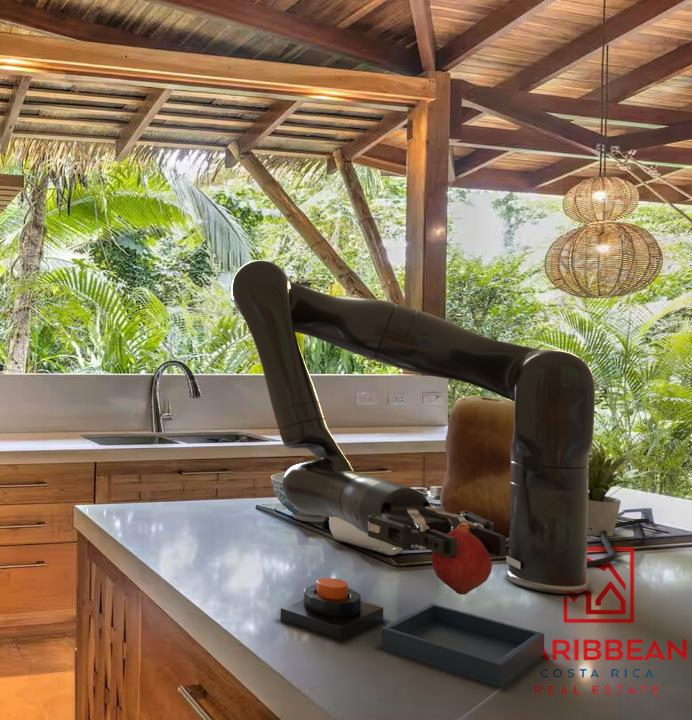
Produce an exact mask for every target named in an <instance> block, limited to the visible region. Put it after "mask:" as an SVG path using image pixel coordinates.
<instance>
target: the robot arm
mask: <svg viewBox="0 0 692 720" xmlns="http://www.w3.org/2000/svg"><path fill="white" fill-rule="evenodd" d="M230 292H231V299H232V301H233V304H234V306H235V307H236V309H237V311H238V313H239V314H240V315H241V316H242V317H243V319H244V321H245V324H246V326H247V327H248V329H249V332H250V334H251V338H252V339H253V342H254V346H255V348H256V351H257V354H258V358H259V361H260V363H261V364H260V365H261V367H262V371H263V376H264V380H265V384H266V388H267V393H268V396H269V397H268V398H269V401H270V404H271V408H272V412H273V415H274V419H275V421H276V422H275V423H276V426H277V428H278V432H279V436H280V439H281V441H282V444H283V445H284V446H285V447H286V448H288V449H305V450H308V451H310V452H311V453H312V454H313V455H314V457H315V458H316V460H310V461H306V462H302V463H297V464H295V465H292V466H290V467H289V468H288V469H287V470H286V471H285V472H286V473H285V475H284V477H283V483H282V485H283V491H284V494H285V496H286V498H287V499H288V501H289V502H290V503H291V504H292V505H293V506H294V507H295V508H297V509H298V510H300V511H302V512H305V513H308V514H313V515H320V516H326V517H337V518H340V519H342V520H344V521H346V522H348V523H350V524H352V525H354V526H355V527H356V528H358V529H359V530H361V531H363V532H365V533H367V534H368V536H369V537H371V538H374V539H377V540H380V541H383V542H386V543H388V544H390V545H392V546H395V547H400V548H403V549H402V550H409V549H410V550H411V549H412V548H416V549H418V550H420V551H431V552H432V551H433V552H435V553H438V554H440V555H442V556H444V557H447V558H455V557H456V556H457V540H456V539H455V538H454V537H452V536H449V535H447V533H449V532H450V531H453V530H454V529H455V528H457V527H458V526H459V525H460V524H463V523H465V524H468V525H469V532H470V533H471V534H472V535H474V536H475V537H476V538H478V539H479V540H480V541H481V542H482V543H483V545H484V546H485V548H486V549H487V551H488V553H489V554H492V555H494V556H505V562H506V563H507V564H508V569H507V579H508V580H509V581H510V582H512V583H513V584H515V585H518V586H520V587H523V588H525V589H529V590H534V591H538V592H543V593H549V594H558V595H577V594H583V593H586V592H587V591H588V580H587V575H588V573H587V570H588V568H593V567H599V566H603V565H607V564H609V563H612V562H614V561H615V559H617V553H616V551H615V550H614V548H613V546H612V544H611V542H610V540H609V538H608V536H607V531H605V530H604V531H602V532H601V536H600V540H601V543H602V544H603V546H604V548H605V550H606V552H607V554H608V555H606V556H604V557H601V558H597V559H593V560H588V534H587V528H588V492H589V490H588V465H589V460H590V452H591V447H592V448H593V442H594V430H595V429H594V428H595V407H596V405H595V404H596V403H595V402H596V385H595V378H594V374H593V372H592V370H591V368H590V366H589V365H588V364H587V363H586V362H585V361H584V360H583V359H582V358H580V357H579V356H577V355H575V354H574V353H571V352H568V351H564V350H557V349H545V348H535V347H530V346H524V345H521V344H520V345H519V344H515V343H510V342H506V341H501V340H497V339H493V338H489V337H486V336H483V335H480V334H478V333H476V332H473V331H470V330H469V329H466V328H464V327H462V326H459V325H457V324H455V323H453V322H450V321H448V320H446V319H444V318H442V317H438V316H436V315H434V314H431V313H428V312H425V311H422V310H418V309H417V308H412V307H409V306H406V305H402V304H399V303H395V302H392V301H387V300H381V299H376V298H368V297H355V296H354V297H353V296H340V295H333V294H327V293H323V292H320V291H317V290H315V289H311V288H309V287H305V286H302V285H301V284H298V283H295V282H293V281H291V280H290V279H289V277H288V275H287V273H286V272H285V271H284V270H283V269H282V268H281V267H280V266H279V265H277V264H276V263H274V262H271V261H269V260H264V259H257V260H256V259H255V260H252V261H249V262H247V263H245V264H244V265H242V266H241V267H240V268H239V269H238V270H237V272H236V273H235V275H234V277H233V279H232V283H231V290H230ZM296 333H298V334H302V335H306V336H309V337H311V338H315V339H318V340H320V341H323V342H325V343H327V344H330V345H332V346H334V347H337V348H339V349H342V350H345V351H348V352H350V353H353V354H356V355H357V356H361V357H363V358H366V359H368V360H372V361H375V362H378V363H381V364H385V365H388V366H391V367H395V368H397V369H400V370H404V371H408V372H413V373H415V374H416V373H417V374H420V375H425V376H429V377H435V378H436V377H437V378H441V379H447V380H454V381H458V382H463V383H466V384H468V385H469V384H470V385H471V386H476V387H478V388H481V389H484V390H486V391H489V392H491V393H493V394H496V395H498V396H500V397H502V398H504V399H507V400H510V401H513V402H515V410H514V432H513V438H512V442H511V448H510V460H511V461H510V528H509V537H508V555H506V554H507V538H505V536H503V535H501V534H498V533H495V532H493V526H494V523H492V522H490V521H488V520H486V519H484V518H482V517H480V516H477V515H475V514H473V513H471V512H469V511H461V515H457V514H452V513H448V512H443V511H442V508H441V509H440V508H438V507H434V506H431V504H430V502H429V500H428V499H427V498H426V496H425V495H424V494H423V493H421V492H420V491H419V490H416V489H414V488H411V487H408V486H405V485H403V484H400V483H396V482H393V481H390V480H387V479H384V478H381V477H374V476H369V475H367V474H363V473H360V472H357V471H354V469H353V467H352V465H351V463H350V461H348V459H347V457H346V456H345V454H344V453H343V451H342V450H341V448H340V447H339V445H338V444H337V442H336V440H335V439H334V437H333V435H332V434H331V432H330V430H329V428H328V426H327V423H326V420H325V416H324V413H323V408H322V407H321V403H320V400H319V397H318V394H317V390H316V388H315V385H314V382H313V380H312V377H311V374H310V373H309V370H308V367H307V365H306V362H305V359H304V357H303V354H302V352H301V348H300V344H299V342H298V339H297V335H296ZM642 518H643V517H642ZM642 518H641V517H640V518H634V519H633V518H632V519H631V520H634V521H628V522H623V523H622V522H620V521H616V525H615V529H618V528H622V527H626V526H630V525H639V524H647V523H650V519H642ZM604 540H605V541H604Z"/></svg>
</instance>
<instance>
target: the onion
mask: <svg viewBox="0 0 692 720" xmlns="http://www.w3.org/2000/svg"><path fill="white" fill-rule="evenodd" d="M447 535H449V536H452V537H454V538H455V539H456V540H457V556H456V557H455V558H447V557H444V556H442V555H440V554H438V553H435V552H433V551H431V566H432V570H433V572H434V573H435V575H436V577H437V578H438V579H439V580H440V581H441V582H443V583H444V584H445V586H447V587H448V588H450V589H451V590H452V591H454V592H455V593H456V594H458V595H459V596H460V595H461V596H462V595H463V596H465V595H467V594H468V593H470V592H471V591H473V590H474V589H476V588H478V587H480V586H481V585H483V584H484V583H485V582H486V581H488V578H489V577H490V575H491V574H492V567H493V565H492V558H491V555H490V553H489V552H488V551H487V549H486V548H485V546H484V545H483V543H482V542H481V541H480V540H479V539H478V538H476V537H475V536H474V535H472V534H471V533H470V532H469V525H468V524H465V523H463V524H460V525H459V526H458V527H457V528H455V529H454V530H453V529H452V530H451V531H450V532H449V533H447Z"/></svg>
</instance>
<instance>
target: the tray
mask: <svg viewBox="0 0 692 720" xmlns="http://www.w3.org/2000/svg"><path fill="white" fill-rule="evenodd" d="M381 649H382V650H384V651H387V652H391V653H394V654H396V655H399V656H403V657H406V658H409V659H412V660H413V661H414V660H415V661H418V662H420V663H423V664H427V665H429V666H432V667H436V668H438V669H442V670H445V671H447V672H450V673H453V674H456V675H459V676H462V677H465V678H469V679H470V680H471V679H472V680H475V681H477V682H480V683H483V684H486V685H490V686H492V687H495V688H498V689H502V688H503V687H504V686H506V685H507V684H508V683H510V682H511V681H513V679H515V678H516V677H517V676H519V675H520V674H521V673H523V672H524V671H526V669H528V668H529V667H531V665H533V664H534V663H536V662H537V661H539V659H542V657H543V656H545V633H543V632H539V631H535V630H532V629H528V628H524V627H521V626H517V625H513V624H510V623H506V622H502V621H498V620H495V619H492V618H487V617H484V616H480V615H477V614H473V613H469V612H466V611H461V610H458V609H454V608H451V607H447V606H444V605H440V604H437V603H432V602H431V603H428V604H427V605H425V606H423V607H421V608H419V609H417V610H414V611H413V612H411V613H408V614H407V615H404V616H403V617H400V618H399V619H397V620H394V621H393V622H391V623H389V624H387V625H385V626H382V627H381Z"/></svg>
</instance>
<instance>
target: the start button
mask: <svg viewBox="0 0 692 720" xmlns="http://www.w3.org/2000/svg"><path fill="white" fill-rule="evenodd" d="M316 585H317V595H318V596H320V597H324V598H328V599H337V600H339V599H347V598H348V589H349V584H348V582H347V581H345V580H342V579H338V578H334V577H333V578H332V577H323V578H318V579H317V580H316Z"/></svg>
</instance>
